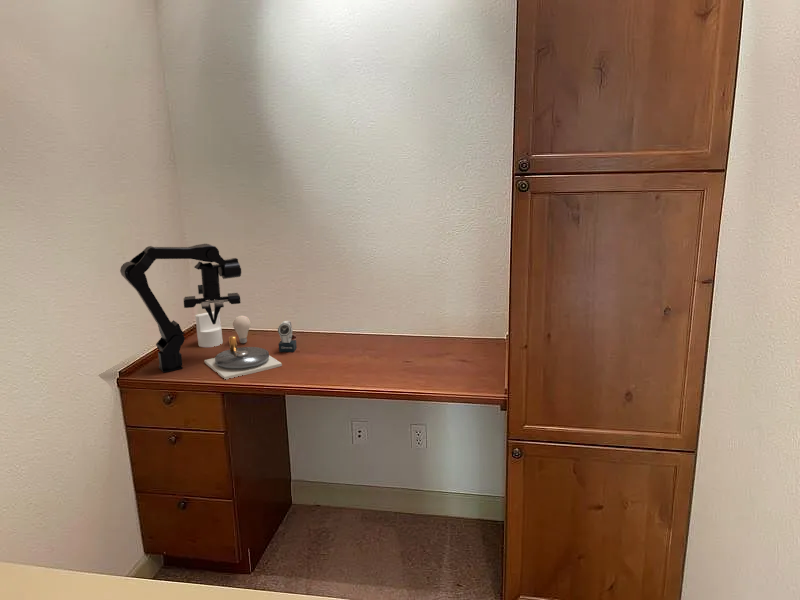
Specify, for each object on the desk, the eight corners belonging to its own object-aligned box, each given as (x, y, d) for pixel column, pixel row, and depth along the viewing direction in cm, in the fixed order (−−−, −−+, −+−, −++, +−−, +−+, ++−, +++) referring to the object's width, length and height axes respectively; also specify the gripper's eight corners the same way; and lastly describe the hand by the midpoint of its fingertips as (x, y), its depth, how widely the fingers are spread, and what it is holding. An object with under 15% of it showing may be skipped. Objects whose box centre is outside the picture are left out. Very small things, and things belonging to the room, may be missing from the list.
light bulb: (254, 340, 234) (252, 313, 231) (248, 346, 228) (246, 318, 225) (238, 340, 235) (235, 313, 232) (232, 346, 228) (229, 318, 226)
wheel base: (225, 379, 195) (224, 375, 195) (204, 362, 211) (204, 358, 211) (281, 366, 207) (281, 361, 206) (258, 350, 222) (258, 347, 222)
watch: (277, 353, 219) (275, 324, 216) (283, 346, 227) (281, 318, 224) (292, 353, 219) (291, 324, 216) (298, 346, 226) (296, 318, 224)
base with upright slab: (204, 349, 226) (201, 318, 223) (194, 343, 232) (191, 313, 229) (226, 343, 232) (224, 313, 229) (216, 338, 238) (213, 309, 235)
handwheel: (278, 360, 207) (276, 342, 205) (228, 373, 196) (226, 354, 195) (255, 347, 221) (253, 330, 219) (207, 358, 210) (205, 340, 208)
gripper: (236, 274, 219) (239, 315, 223) (181, 278, 213) (185, 320, 217) (239, 280, 209) (242, 323, 213) (182, 284, 203) (186, 328, 207)
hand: (214, 323), depth 213 cm, fingers closed
